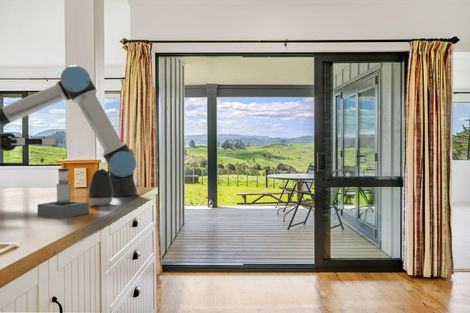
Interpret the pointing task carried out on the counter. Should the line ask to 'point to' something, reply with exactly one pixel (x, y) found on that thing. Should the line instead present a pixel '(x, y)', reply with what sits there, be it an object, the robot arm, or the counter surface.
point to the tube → (63, 188)
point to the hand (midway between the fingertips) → (40, 141)
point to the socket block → (63, 209)
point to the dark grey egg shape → (100, 188)
